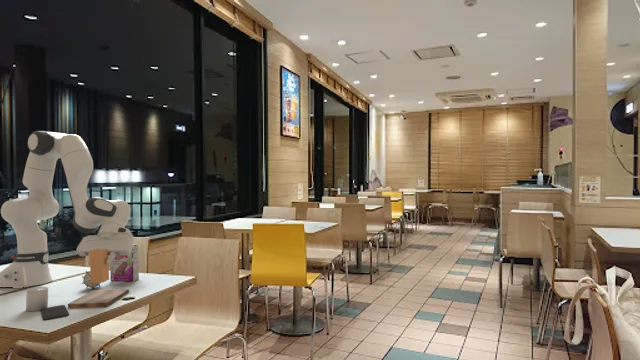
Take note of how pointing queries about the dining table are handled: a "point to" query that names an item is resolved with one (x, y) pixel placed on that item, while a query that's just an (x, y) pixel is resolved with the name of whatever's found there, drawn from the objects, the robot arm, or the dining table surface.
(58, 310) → the phone
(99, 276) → the orange block
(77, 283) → the dining table surface
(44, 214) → the robot arm
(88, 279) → the spiked faceted ball
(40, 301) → the white rounded cube
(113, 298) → the walnut board
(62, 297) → the dining table surface
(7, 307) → the dining table surface
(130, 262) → the candy bar box
